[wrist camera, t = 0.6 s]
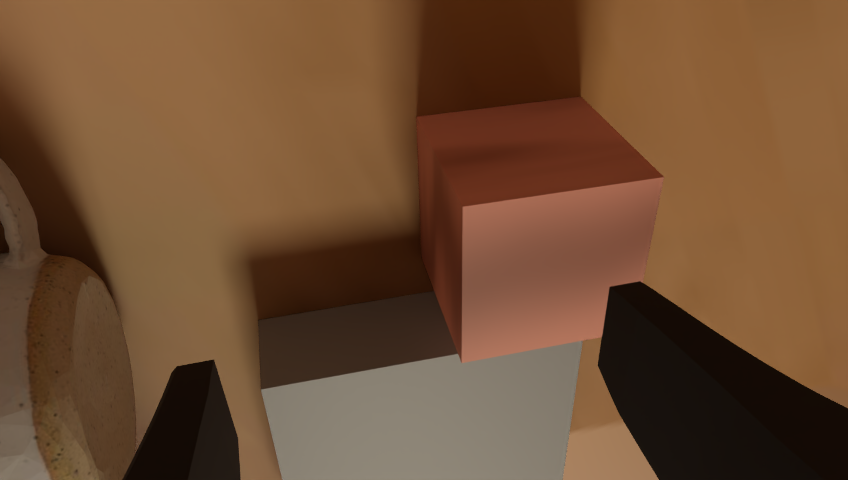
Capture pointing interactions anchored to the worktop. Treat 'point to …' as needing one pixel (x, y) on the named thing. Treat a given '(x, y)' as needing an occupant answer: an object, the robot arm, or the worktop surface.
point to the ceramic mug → (58, 360)
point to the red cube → (530, 222)
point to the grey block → (409, 398)
